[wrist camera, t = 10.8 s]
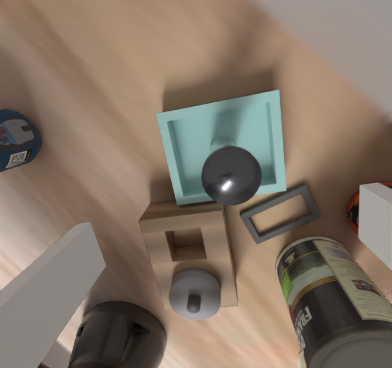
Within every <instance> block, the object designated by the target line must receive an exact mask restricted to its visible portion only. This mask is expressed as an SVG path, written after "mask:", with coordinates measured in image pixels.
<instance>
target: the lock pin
mask: <svg viewBox="0 0 392 368" xmlns="http://www.w3.org/2000/svg"><path fill="white" fill-rule="evenodd" d="M261 179H262V172H261V168H260V165H259V163H258V161H257V160H256V158H255V157H254V156H253V155H252V154H251V153H250V152H249V151H248V150H246V149H244V148H242V147H239V146H235V144H234V143H233V141H232V140H230V139H229V138H226V137H220V138H217V139H215V140H214V141H213V143H212V144H211V147H210V155H209V156H208V157H207V159H206V160H205V162H204V164H203V167H202V174H201V180H202V185H203V188H204V190H205V192H206V193H207V195H208V196H209V197H210V198H211V199H213V200H214V201H216V202H218V203H220V204H223V205H238V204H241V203H244V202H246V201H248V200H249V199H250V198H252V197H253V196H254V195H255V193H256V192H257V191H258V189H259V187H260V184H261Z"/></svg>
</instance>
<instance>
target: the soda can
mask: <svg viewBox="0 0 392 368" xmlns="http://www.w3.org/2000/svg"><path fill="white" fill-rule="evenodd" d="M40 145H41V138H40V134H39V132H38V130H37V128H36V126H35V125H34V124H33V123H32V122H31V121H30V120H29V119H27V118H26V117H24V116H23V115H21V114H20V113H18V112H15V111H12V110H6V109H3V110H0V172H2V171H5V170H8V169H11V168H14V167H17V166H20V165H23V164H26V163H28V162H30V161H32V160H33V159H34V158H35V156H36V155H37V153H38V151H39V148H40Z"/></svg>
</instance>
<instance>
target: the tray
mask: <svg viewBox="0 0 392 368" xmlns="http://www.w3.org/2000/svg"><path fill="white" fill-rule="evenodd" d="M156 117H157V121H158V125H159V130H160V134H161V138H162V142H163V147H164V151H165V155H166V160H167V164H168V168H169V173H170V177H171V181H172V185H173V190H174V194H175V198H176V203H177V205H183V204H191V203H198V202H205V201H213V199H211V198H210V197H209V196H208V195H207V193H206V192H205V190H204V188H203V185H202V180H201V174H202V167H203V164H204V162H205V160H206V159H207V157H208V156H209V155H210V147H211V144H212V143H213V141H214V140H215V139H217V138H220V137H226V138H229V139H230V140H232V141H233V143H234V144H235V146H239V147H242V148H244V149H246V150H248V151H249V152H250V153H251V154H252V155H253V156H254V157H255V158H256V160H257V161H258V163H259V165H260V168H261V172H262V179H261V184H260V187H259V189H258V191H257V192H256V193H255V195H258V194H265V193H273V192H280V191H286V179H285V165H284V151H283V137H282V123H281V109H280V95H279V90H274V91H268V92H263V93H258V94H253V95H248V96H243V97H238V98H233V99H228V100H223V101H218V102H213V103H208V104H203V105H198V106H192V107H187V108H182V109H177V110H172V111H167V112H162V113H158V114H156Z"/></svg>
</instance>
